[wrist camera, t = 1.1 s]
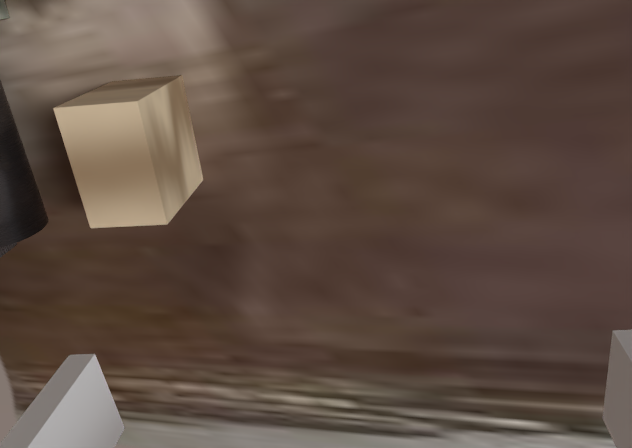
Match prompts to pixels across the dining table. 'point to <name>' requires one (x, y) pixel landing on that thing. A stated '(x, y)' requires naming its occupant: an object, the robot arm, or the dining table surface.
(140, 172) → the block
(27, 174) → the gray bench
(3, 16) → the tray
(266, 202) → the dining table surface
